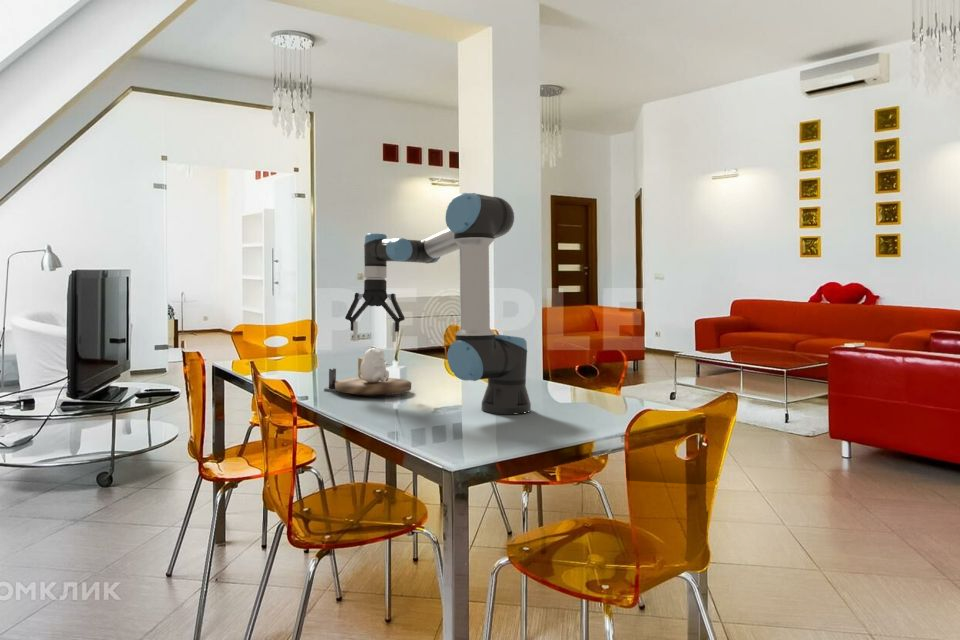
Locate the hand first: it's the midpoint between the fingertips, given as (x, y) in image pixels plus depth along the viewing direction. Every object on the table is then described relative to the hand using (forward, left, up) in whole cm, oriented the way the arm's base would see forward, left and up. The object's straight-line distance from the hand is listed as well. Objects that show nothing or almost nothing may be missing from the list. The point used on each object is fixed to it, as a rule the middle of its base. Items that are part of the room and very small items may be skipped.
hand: (374, 341), depth 235 cm
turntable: (0, -1, -16) cm, 16 cm away
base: (+5, 0, -18) cm, 19 cm away
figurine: (0, 0, -15) cm, 15 cm away
